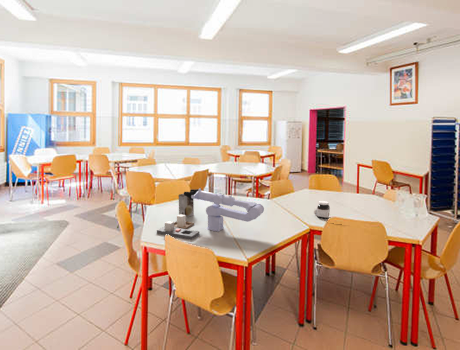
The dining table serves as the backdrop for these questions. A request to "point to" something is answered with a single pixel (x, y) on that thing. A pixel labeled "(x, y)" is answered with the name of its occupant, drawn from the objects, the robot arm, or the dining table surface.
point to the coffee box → (185, 205)
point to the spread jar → (322, 210)
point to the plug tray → (188, 224)
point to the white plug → (181, 220)
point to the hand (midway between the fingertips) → (187, 192)
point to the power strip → (179, 233)
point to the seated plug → (169, 226)
